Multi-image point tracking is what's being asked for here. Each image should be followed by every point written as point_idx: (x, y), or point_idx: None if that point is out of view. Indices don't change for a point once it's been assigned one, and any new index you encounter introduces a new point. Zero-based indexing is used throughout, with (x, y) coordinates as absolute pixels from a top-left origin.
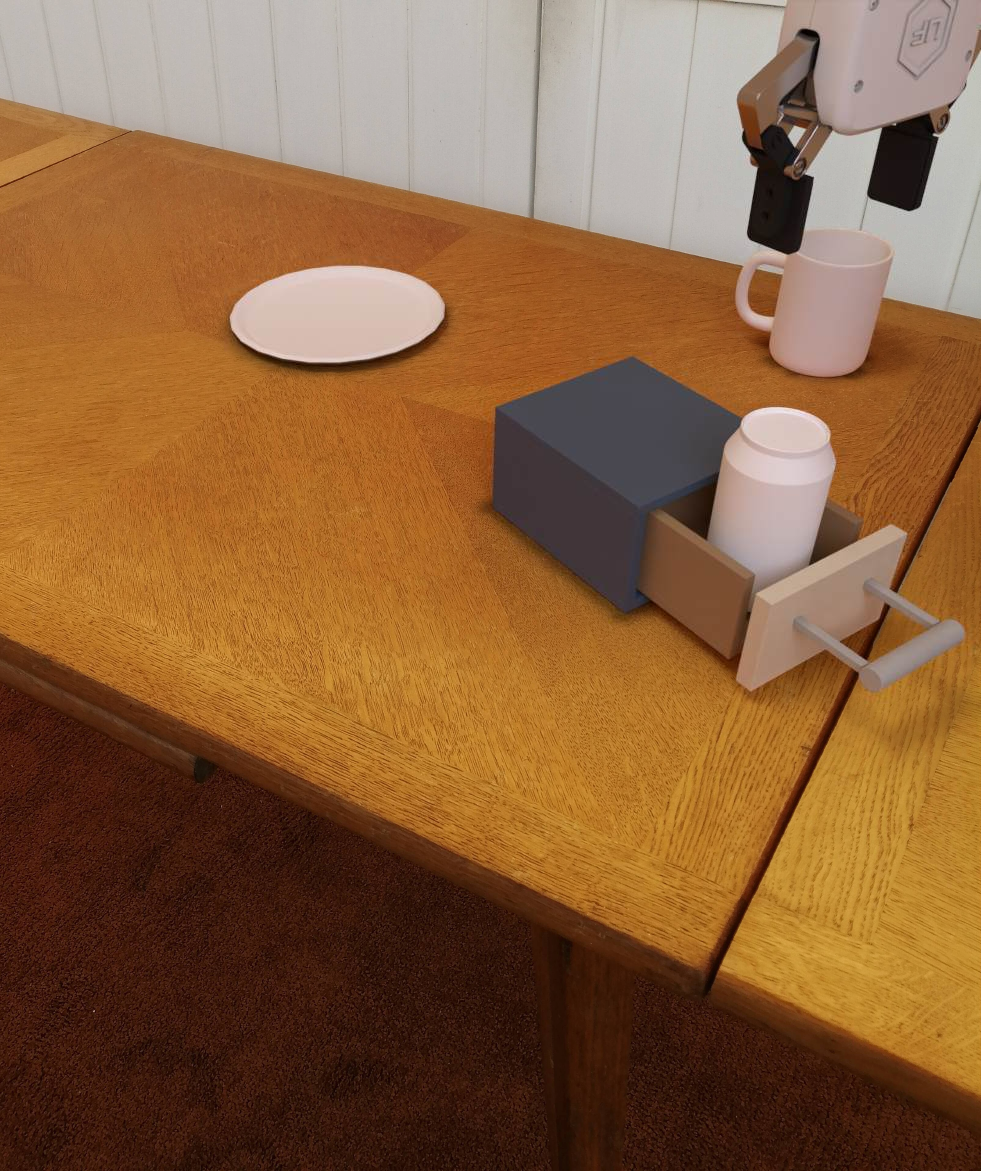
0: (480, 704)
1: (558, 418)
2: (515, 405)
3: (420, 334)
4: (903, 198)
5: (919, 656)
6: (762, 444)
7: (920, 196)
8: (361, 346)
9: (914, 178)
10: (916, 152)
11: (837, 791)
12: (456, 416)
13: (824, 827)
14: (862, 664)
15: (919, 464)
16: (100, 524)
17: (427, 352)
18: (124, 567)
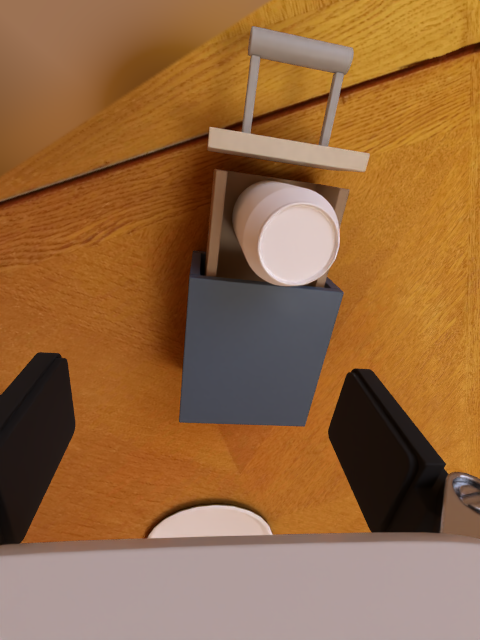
0: (423, 263)
1: (287, 395)
2: (294, 420)
3: (192, 511)
4: (62, 381)
5: (309, 39)
6: (337, 243)
7: (38, 364)
8: (223, 516)
9: (39, 400)
10: (15, 450)
11: (364, 58)
12: (231, 446)
13: (397, 45)
14: (341, 75)
15: (2, 233)
16: None
17: (194, 498)
18: (438, 435)
